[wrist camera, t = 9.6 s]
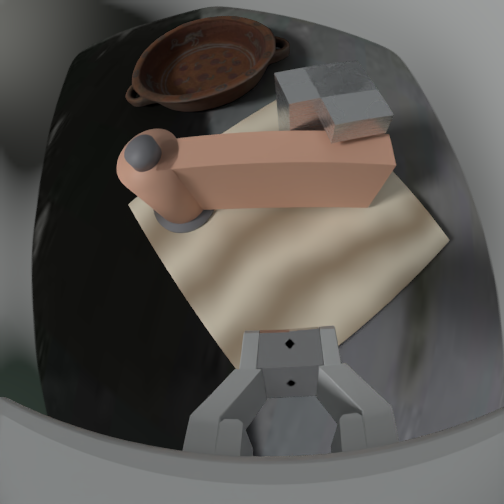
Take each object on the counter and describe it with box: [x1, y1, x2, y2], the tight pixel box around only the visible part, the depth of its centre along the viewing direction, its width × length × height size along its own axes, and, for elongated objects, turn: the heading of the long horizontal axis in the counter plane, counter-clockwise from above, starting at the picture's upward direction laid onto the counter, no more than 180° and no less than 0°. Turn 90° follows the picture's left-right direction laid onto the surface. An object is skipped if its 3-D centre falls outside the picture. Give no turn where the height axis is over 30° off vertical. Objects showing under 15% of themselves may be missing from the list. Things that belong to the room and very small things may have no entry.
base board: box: [128, 100, 449, 369], centre depth 27 cm, size 23×23×2 cm
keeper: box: [274, 61, 394, 144], centre depth 21 cm, size 6×5×12 cm
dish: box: [126, 16, 290, 112], centre depth 31 cm, size 18×22×5 cm
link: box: [117, 129, 396, 224], centre depth 22 cm, size 20×5×9 cm, turn 89°
